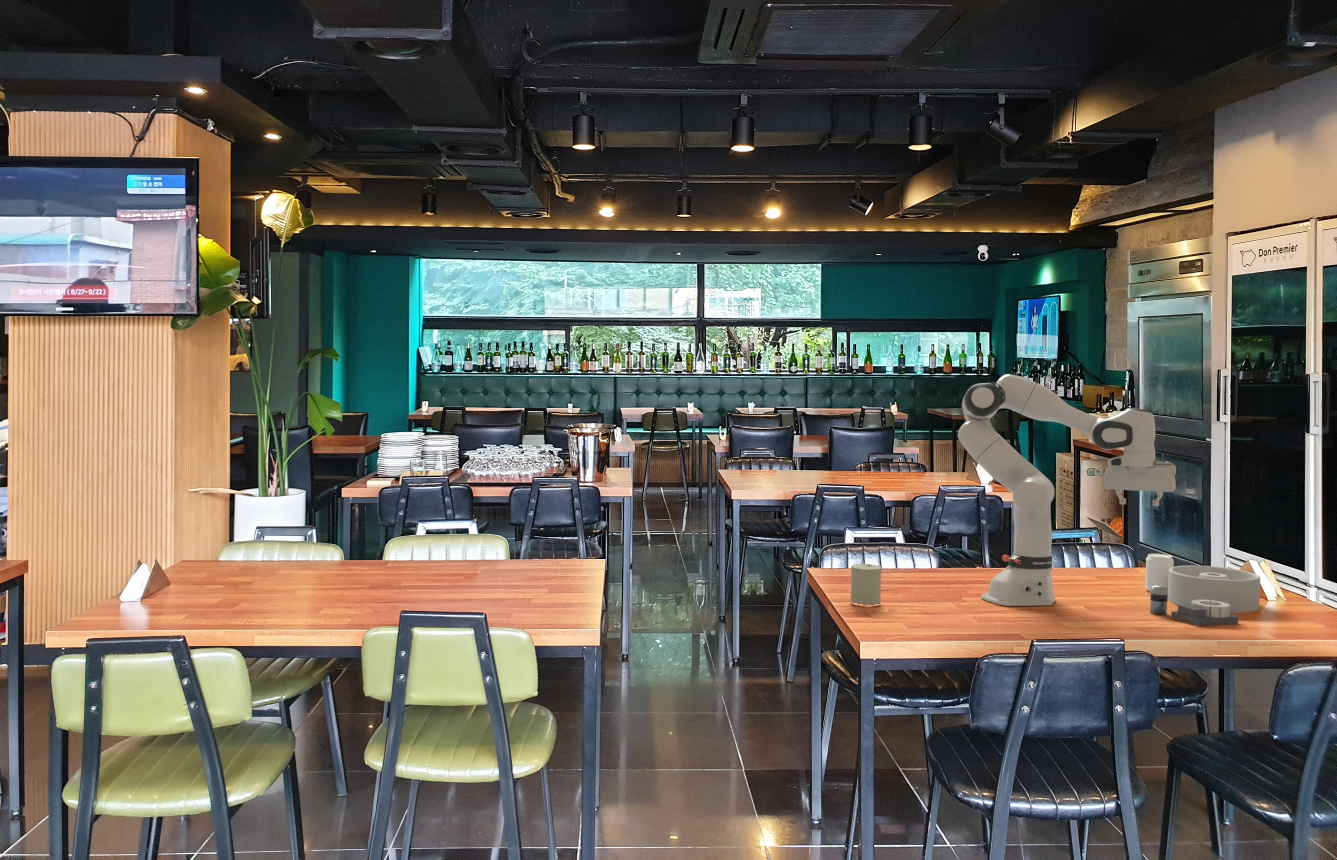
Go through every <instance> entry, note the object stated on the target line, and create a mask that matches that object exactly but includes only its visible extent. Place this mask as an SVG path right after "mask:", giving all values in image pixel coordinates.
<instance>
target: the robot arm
mask: <svg viewBox="0 0 1337 860" xmlns="http://www.w3.org/2000/svg"><path fill="white" fill-rule="evenodd" d="M961 401H962V402H961V413H962V417H963V420H964V423H963V424H961V426H960V428H959V430H958V432H957V438H958V440H959V442H960V444H961V445H962V446H963V449H965V450H966V452H967V453H968V454H969V455H970V456H971V458H972V459H973V460H974V461H975V462H976V463H977V464H978V465H979V466H981V468H983V470H984V471H986V472H987V473H988V475H989V476H990V477H992V479H994V480H995V481H997V482H998V483H999V484H1000V485H1001V486H1003V488H1004V487H1005V488H1004V489H1007V491H1009V492H1010V493H1011V494H1012V514H1013V529H1014V530H1013V552H1012V554H1011V556H1010V555H1007V554H1003V555H1002V558H1001V559H1002V561H1003V562H1006V563H1008V565H1007V566H1006V567H1005V568H1003V570H1001V571H1000V572H999V573H997V574H996V575H995V576H993V577H992V578H991V580H990V583H989V586H988V587H989V588H988V592H986V593H982V594H981V596H980V597H981V599H982V600H984V601H987V602H989V603H992V604H995V605H1001V606H1005V607H1006V606H1007V607H1018V606H1019V607H1023V606H1024V607H1025V606H1026V607H1027V606H1029V607H1030V606H1031V607H1032V606H1053V605H1054V603H1056V598H1055V592H1054V589H1053V580H1052V579H1053V578H1052V570H1053V556H1052V518H1051V517H1052V515H1051V508H1052V507H1051V505H1052V502H1053V500H1054V498H1055V487H1054V484H1053V482H1052V481H1051V480H1050V479H1049V478H1048V477H1047V476H1046V475H1045V474H1043V473H1042V472H1041V471H1040V470H1039V469H1038V468H1037V467H1036V466H1034V465H1033V464H1032V463H1031V462H1030V461H1028V460H1027V459H1026V458H1025V457H1024V456H1023V455H1021V454H1020V453H1019V452H1018V451H1017V450H1016V449H1015V448H1014V447H1013V446H1011V444H1010V443H1009V442H1008V441H1006V439H1004V437H1002V436H1001V435H1000V433H998V432H997V431H996V429H994V427H993V426H992V422H991V421H992V419H993V417H994V416H995V415H996V414H997V412H998V411H999V410H1000V409H1008V410H1012V411H1014V412H1016V413H1018V414H1020V415H1021V416H1025V417H1027V418H1029V419H1033V420H1036V421H1041V422H1053V423H1059V424H1061V425H1064V426H1067V427H1069V428H1071V429H1073V430H1075V431H1078V432H1080V433H1082V434H1084V435H1085V436H1087V437H1088V439H1089V440H1090V441H1091V442H1092V443H1093V444H1094V445H1095V446H1097V447H1099V448H1100V449H1101V450H1106V451H1112V450H1115V449H1120V448H1122V449H1123V454H1122V455H1117V456H1115V457H1112V458H1109V459H1107V462H1106V463H1107V467H1106V468H1105V470H1104V476H1103V487H1104V488H1105V489H1106V490H1115V495H1116V496H1117V498H1118V499H1119V505H1126V504H1127V498H1124V497H1123V495H1122V493H1123V491H1141V492H1155V493H1156V496H1157V497H1156V499H1153V500H1152V501H1151V502H1152V506H1153V507H1159V506H1160V500H1161V499H1162V497H1163V495H1164V493H1172V492H1174V491H1175V490H1176V489H1177V486H1176V485H1177V484H1176V477H1175V476H1176V475H1177V467H1176V464H1175V463H1173V462H1171V461H1160V460H1156V448H1155V439H1156V422H1155V416H1154V414H1153V413H1152V412H1151V411H1150V410H1147V409H1142V408H1135V407H1129V408H1126V409H1125V410H1124V411H1122V412H1120V413H1118V414H1115V415H1113V416H1111V417H1110V416H1109V417H1107V416H1094V415H1092V414H1090V413H1087V412H1084V411H1083V410H1080V409H1077V408H1076V407H1073V406H1071V405H1069V404H1068V403H1067V402H1066V401H1064V400H1063V399H1062V398H1061V397H1060V396H1059V395H1058V394H1057V393H1056V392H1053V391H1052V390H1051V389H1049V388H1047V387H1046V386H1044V385H1043V384H1040V383H1039V382H1036V381H1033V380H1030V379H1028V378H1025V377H1023V376H1019V375H1014V374H1010V373H1007V374H1004V375H1002V376H1000V377H999V378H998V380H997V381H996V382H986V383H985V382H983V383H981V382H980V383H976V384H973V385H971V386H970V387H969V388H968V389H967V390H966V392H965V393H964V396H963V398H962V400H961Z"/></svg>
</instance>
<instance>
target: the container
mask: <svg viewBox="0 0 1337 860" xmlns="http://www.w3.org/2000/svg"><path fill="white" fill-rule="evenodd" d="M1193 600H1210V601H1211V600H1214V601H1219V602H1224V603H1228V604H1229V605H1230V614H1245V613H1252V612H1256V611H1259V610H1260V603H1261V602H1260V600H1261V576H1260V575H1259V574H1256V573H1254V572H1251V571H1246V570H1242V569H1236V568H1231V567H1221V566H1212V565H1211V566H1210V565H1177V566H1174V567H1172V568H1170V569H1169V577H1168V601H1167V602H1170V603H1171V604H1173V605H1176V606H1178V605H1191V601H1193Z"/></svg>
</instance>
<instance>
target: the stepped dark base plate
mask: <svg viewBox="0 0 1337 860" xmlns="http://www.w3.org/2000/svg"><path fill="white" fill-rule="evenodd" d="M1170 617H1171V619H1173V620H1175V621H1180V622H1182V623H1186V624H1189V625H1192V626H1196V627H1210V626H1221V625H1222V626H1223V625H1224V626H1225V625H1232V624H1233V625H1234V624H1235V625H1236V624H1239V616H1238V615H1235V614H1232V613H1230V605H1229V604H1228V603H1224V602H1219V601H1214V600H1211V601H1210V600H1193V601H1191V605H1177V610H1173V611H1172V610H1171V613H1170Z"/></svg>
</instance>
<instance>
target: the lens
mask: <svg viewBox="0 0 1337 860" xmlns="http://www.w3.org/2000/svg"><path fill="white" fill-rule="evenodd" d="M1167 591H1168V587H1165V586H1161V585H1153V586H1151V592H1149V593H1150V598H1149V599H1150V605H1149V606H1150V608H1149V609H1150V610H1149V613H1150V614H1151V615H1157V616H1167V615H1168V602H1169V601H1168V594H1167Z"/></svg>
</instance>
